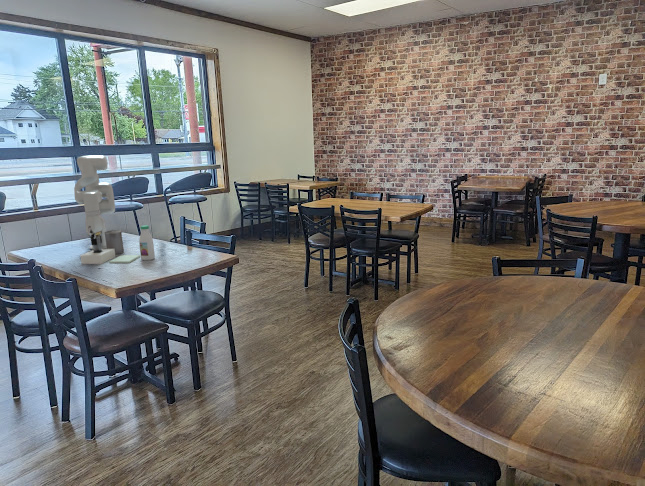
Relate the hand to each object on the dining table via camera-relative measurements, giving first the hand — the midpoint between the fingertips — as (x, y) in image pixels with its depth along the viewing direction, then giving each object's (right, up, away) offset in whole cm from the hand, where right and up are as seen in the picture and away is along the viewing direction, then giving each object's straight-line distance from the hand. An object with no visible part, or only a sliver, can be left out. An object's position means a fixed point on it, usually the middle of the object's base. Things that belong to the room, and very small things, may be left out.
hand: (96, 243), depth 268 cm
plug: (0, -6, +1) cm, 6 cm away
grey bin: (+2, -6, +19) cm, 20 cm away
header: (0, -10, +2) cm, 10 cm away
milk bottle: (+29, -9, +2) cm, 31 cm away
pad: (+16, -10, +1) cm, 19 cm away
